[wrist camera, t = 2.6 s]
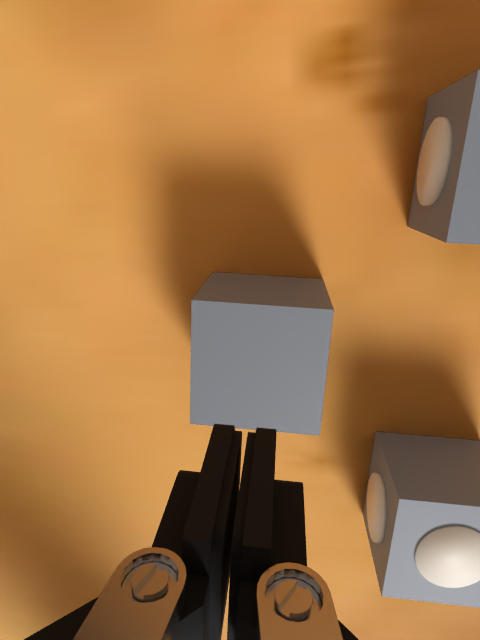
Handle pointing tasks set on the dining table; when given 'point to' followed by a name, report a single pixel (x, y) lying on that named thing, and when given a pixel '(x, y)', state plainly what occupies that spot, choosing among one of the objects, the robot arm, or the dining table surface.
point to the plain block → (260, 352)
